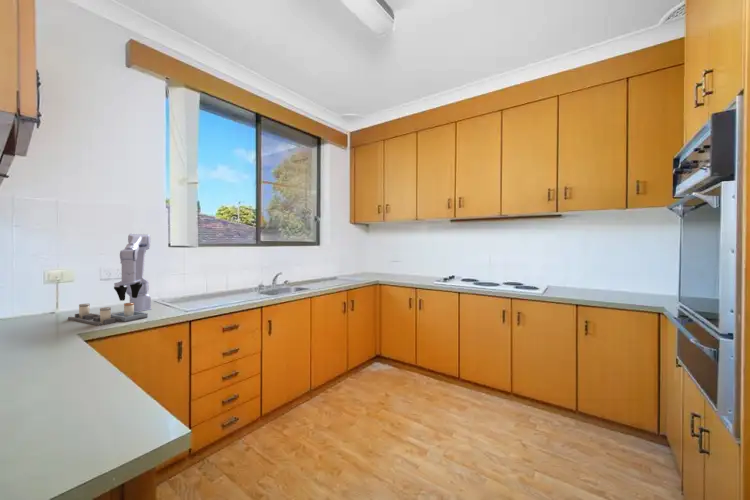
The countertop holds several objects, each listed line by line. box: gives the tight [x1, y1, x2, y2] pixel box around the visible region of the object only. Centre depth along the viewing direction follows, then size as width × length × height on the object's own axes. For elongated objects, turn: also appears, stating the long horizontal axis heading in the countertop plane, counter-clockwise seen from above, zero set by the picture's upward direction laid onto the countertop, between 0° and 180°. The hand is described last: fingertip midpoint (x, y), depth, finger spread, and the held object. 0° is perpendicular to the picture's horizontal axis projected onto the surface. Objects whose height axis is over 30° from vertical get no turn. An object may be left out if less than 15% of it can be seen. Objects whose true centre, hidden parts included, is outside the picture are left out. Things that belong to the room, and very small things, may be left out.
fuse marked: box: [123, 302, 134, 317], centre depth 167 cm, size 4×4×7 cm
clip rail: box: [67, 312, 122, 327], centre depth 161 cm, size 10×26×2 cm, turn 67°
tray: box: [111, 311, 149, 323], centre depth 167 cm, size 11×13×2 cm
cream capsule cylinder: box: [78, 303, 91, 319], centre depth 165 cm, size 4×4×7 cm
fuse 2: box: [99, 306, 112, 324], centre depth 158 cm, size 4×4×7 cm
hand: (128, 299), depth 167 cm, fingers open, 7 cm apart
